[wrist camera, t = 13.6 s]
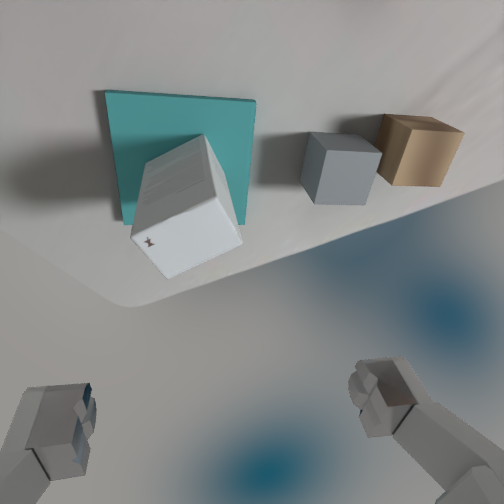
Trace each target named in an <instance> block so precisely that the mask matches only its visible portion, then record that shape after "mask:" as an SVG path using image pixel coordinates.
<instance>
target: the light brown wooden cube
mask: <svg viewBox="0 0 504 504" xmlns="http://www.w3.org/2000/svg"><path fill="white" fill-rule="evenodd" d="M464 134H465V133H464V132H462V131H460V130H458V129H456V128H454V127H451V126H449V125H447V124H445V123H443V122H441V121H439V120H437V119H434V118H432V117H422V116H408V115H393V114H384V117H383V120H382V124H381V127H380V130H379V133H378V136H377V140H376V143H375V146H374V147H375V148H377V149H378V150H379V151H380V152H382V156H381V159H380V162H379V165H378V168H377V171H376V172H377V173H378V174H380V175H381V176H382V177H383V178H384V179H385V180H386V181H387V182H389V183H390V184H391V185H392V186H429V187H440V186H441V184H442V182H443V180H444V178H445V175H446V173H447V171H448V169H449V167H450V164H451V162H452V160H453V158H454V156H455V153H456V151H457V149H458V147H459V145H460V142H461V140H462V138H463V136H464Z"/></svg>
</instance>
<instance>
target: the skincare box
mask: <svg viewBox="0 0 504 504" xmlns="http://www.w3.org/2000/svg"><path fill="white" fill-rule="evenodd" d="M130 238H131V239H132V240H133V242H134V243H135V244H136V245H137V246H138V247H139V248H140V249H141V250H142V252H143V253H144V254H145V255H146V256H147V257H148V258H149V259H150V261H151V262H152V263H153V264H154V265H155V267H156V268H157V269H158V270H159V271H160V272H161V274H162V275H163V276H164V277H165V278H166V279H170V278H172V277H174V276H176V275H178V274H180V273H183V272H185V271H187V270H189V269H191V268H193V267H195V266H197V265H200V264H202V263H204V262H206V261H208V260H210V259H212V258H214V257H216V256H219V255H221V254H223V253H225V252H227V251H229V250H231V249H234V248H236V247H238V246H240V245H242V244H243V241H242V237H241V233H240V230H239V226H238V222H237V219H236V215H235V211H234V208H233V204H232V200H231V196H230V192H229V189H228V185H227V181H226V177H225V173H224V171H223V169H222V167H221V165H220V163H219V162H218V160H217V158H216V156H215V154H214V152H213V150H212V148H211V146H210V144H209V142H208V140H207V138H206V136H205V135H204V134H202V135H200V136H198V137H196V138H194V139H192V140H190V141H188V142H186V143H184V144H182V145H180V146H179V147H176V148H175V149H173V150H171V151H169V152H167V153H165V154H163V155H161V156H159V157H157V158H155V159H153V160H151V161H149V162H147V163H145V168H144V172H143V177H142V182H141V187H140V192H139V196H138V202H137V206H136V211H135V216H134V221H133V226H132V230H131V235H130Z"/></svg>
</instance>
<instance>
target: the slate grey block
mask: <svg viewBox="0 0 504 504" xmlns="http://www.w3.org/2000/svg"><path fill="white" fill-rule="evenodd" d="M381 156H382V152H380V151H379V150H378V149H377V148H375V147H374V146H373V145H371V144H370V143H369V142H368V141H366V140H365V139H364V138H362V137H361V136H360V135H355V134H339V133H323V132H310V133H309V138H308V143H307V148H306V153H305V158H304V163H303V168H302V173H301V178H300V182H301V184H302V186H303V187H304V189H305V190H306V192H307V194H308V195H309V197H310V198H311V200H312V201H313V203H314V204H327V205H365V204H366V201H367V198H368V195H369V192H370V189H371V186H372V183H373V180H374V177H375V174H376V171H377V168H378V165H379V162H380V159H381Z"/></svg>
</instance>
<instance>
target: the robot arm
mask: <svg viewBox="0 0 504 504" xmlns="http://www.w3.org/2000/svg"><path fill="white" fill-rule="evenodd" d="M355 368H356V370H357V371H356V372H354V373H353V374H351V376H350V379H349V381H348V382H349V393H350V397H351V399H352V402H353V404H354V405H355V406H357V407H358V408H359V409H360V415H359V418H360V421H361V423H362V425H363V427H364V430H365V432H366V434H367V437H368V438H370V437H380V436H390V435H393V438H394V439H395V440H396V441H397V442H398V443H399V444H400V445H401V446H402V447H403V448H404V449H405V450H406V451H407V452H408V453H409V454H410V455H411V456H412V457H413V458H414V459H415V460H416V461H417V462H418V463H419V464H420V465H421V466H422V467H423V469H425V470H426V471H427V473H428V474H429V475H430V476H432V478H433V479H434V480H435V481H436V482H437V483H438V484H439V485H440V486H441V487H442V488H443V489H444V490H445V492H444V493H443V494H442V495H441V496H440V497H439V498H438V499H437V500H436V502H435V504H504V451H503V450H502V449H501V448H499V447H498V446H497V445H495V444H494V443H493V442H491V441H490V440H488V439H487V438H486V437H485V436H483V435H482V434H480V433H479V432H478V431H476V430H475V429H474V428H472V427H471V426H470V425H468V424H467V423H465V422H464V421H463V420H461V419H460V418H459V417H457V416H456V415H455V414H453V413H452V412H451V411H449V410H448V409H446V408H445V407H444V406H442V405H441V404H440V403H438V402H436V403H434V402H433V400H432V399H431V397H430V396H429V394H428V392H427V391H426V389H425V388H424V386H423V385H422V383H421V381H420V380H419V378H418V377H417V375H416V373H415V372H414V370H413V369H412V367H411V366H410V364H409V362H408V361H407V360H406V359H405V358H404V357H400V356H399V357H389V358H387V357H385V358H375V359H365V360H360V361H358V362H357V363H356V366H355ZM91 391H92V388H91V386H90V383H81V384H68V385H56V386H41V387H29V388H27V389H26V391H25V392H24V393H23V395H22V398H21V400H20V403H19V405H18V408H17V410H16V413H15V415H14V418H13V420H12V423H11V425H10V428H9V430H8V433H7V436H6V438H5V441H4V443H3V446H2V448H1V451H0V504H36V502H37V501H38V500H39V498H40V497H41V496H42V494H43V493H44V492H45V490H46V489H47V487H48V486H49V485H50V481H54V480H60V479H66V478H72V477H78V476H84V475H85V474H86V468H87V463H88V459H89V453H90V447H89V444H88V441H87V440H88V438H89V437H90V436H91V435H92V434H93V432H94V428H95V422H96V402H95V399H94V398H93V397H91Z"/></svg>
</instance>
